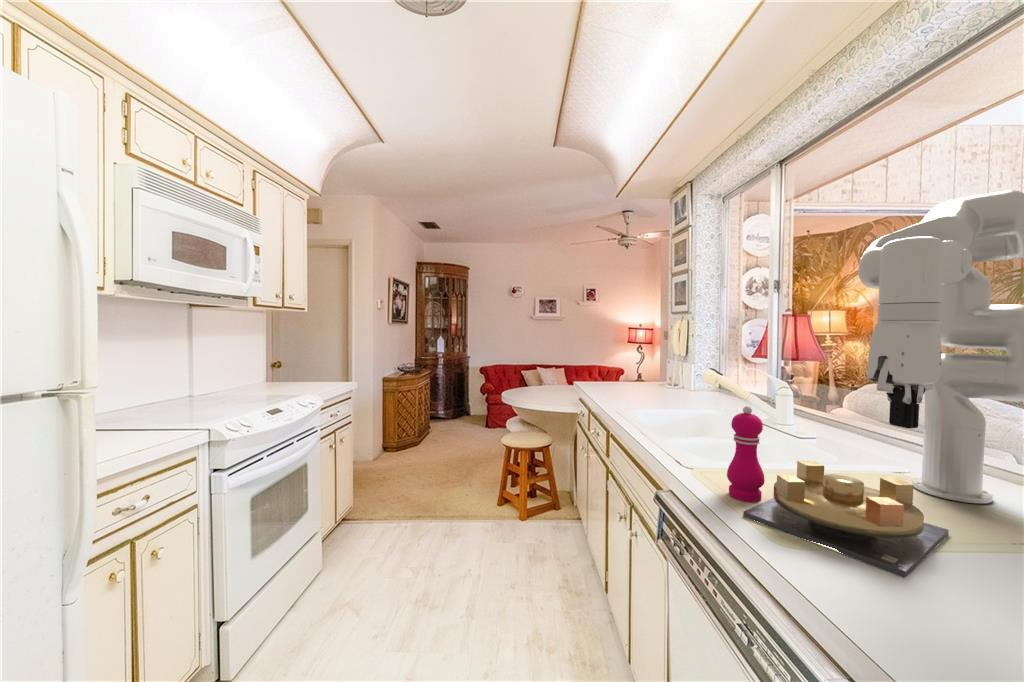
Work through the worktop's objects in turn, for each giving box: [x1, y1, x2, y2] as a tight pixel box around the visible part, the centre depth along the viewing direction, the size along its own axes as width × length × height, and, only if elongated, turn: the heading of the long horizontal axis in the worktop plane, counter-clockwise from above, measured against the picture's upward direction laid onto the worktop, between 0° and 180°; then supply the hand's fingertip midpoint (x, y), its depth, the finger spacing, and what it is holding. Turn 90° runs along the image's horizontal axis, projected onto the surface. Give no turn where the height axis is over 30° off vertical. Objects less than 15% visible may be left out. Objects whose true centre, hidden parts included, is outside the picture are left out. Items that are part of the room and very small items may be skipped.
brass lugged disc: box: [772, 460, 925, 538], centre depth 80 cm, size 22×22×6 cm
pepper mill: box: [726, 405, 765, 503], centre depth 92 cm, size 7×7×20 cm
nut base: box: [742, 497, 949, 579], centre depth 80 cm, size 24×24×3 cm
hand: (903, 426), depth 70 cm, fingers closed
